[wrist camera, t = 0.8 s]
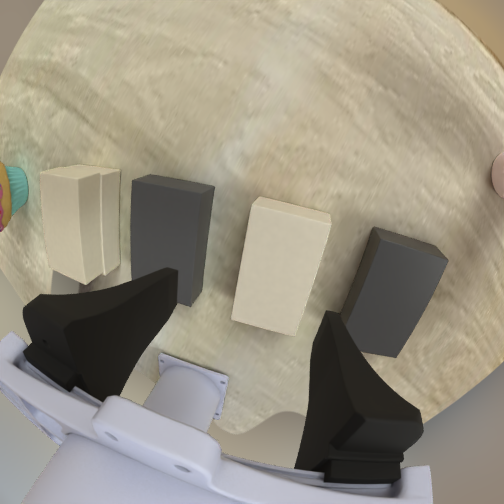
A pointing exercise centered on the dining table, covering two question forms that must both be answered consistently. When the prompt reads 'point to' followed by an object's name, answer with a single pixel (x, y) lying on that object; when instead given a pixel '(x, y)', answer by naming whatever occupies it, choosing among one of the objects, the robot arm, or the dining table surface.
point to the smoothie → (498, 174)
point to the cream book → (279, 264)
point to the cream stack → (81, 220)
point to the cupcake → (11, 192)
